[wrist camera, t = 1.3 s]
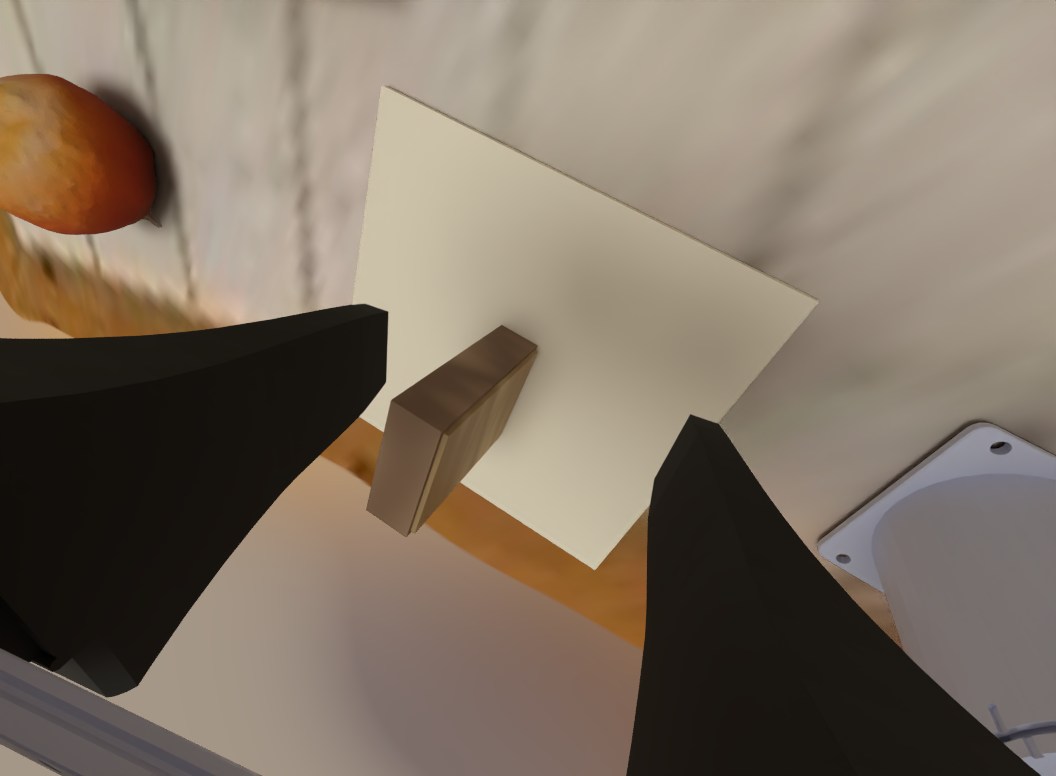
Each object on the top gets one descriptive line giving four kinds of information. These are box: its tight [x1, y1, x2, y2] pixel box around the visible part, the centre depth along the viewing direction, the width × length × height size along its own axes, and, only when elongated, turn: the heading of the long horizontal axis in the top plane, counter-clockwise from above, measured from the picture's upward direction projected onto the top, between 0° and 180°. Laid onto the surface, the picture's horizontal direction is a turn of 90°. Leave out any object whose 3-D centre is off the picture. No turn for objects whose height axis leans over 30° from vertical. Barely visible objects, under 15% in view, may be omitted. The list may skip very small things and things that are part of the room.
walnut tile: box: [366, 325, 538, 537], centre depth 19 cm, size 2×6×8 cm, turn 157°
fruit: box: [0, 74, 162, 235], centre depth 25 cm, size 8×8×8 cm
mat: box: [352, 85, 819, 570], centre depth 22 cm, size 19×18×1 cm
